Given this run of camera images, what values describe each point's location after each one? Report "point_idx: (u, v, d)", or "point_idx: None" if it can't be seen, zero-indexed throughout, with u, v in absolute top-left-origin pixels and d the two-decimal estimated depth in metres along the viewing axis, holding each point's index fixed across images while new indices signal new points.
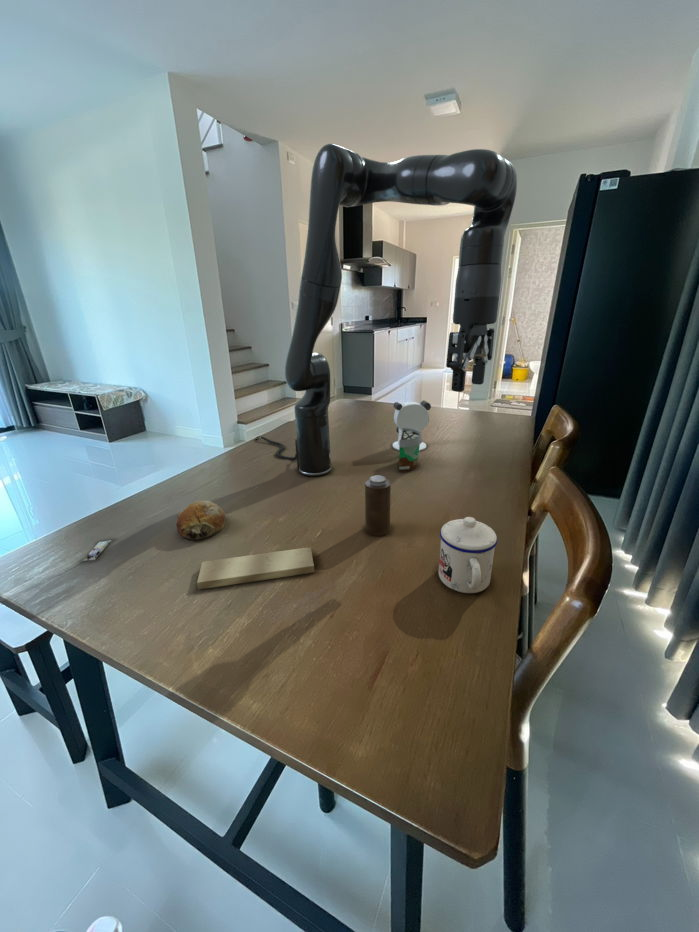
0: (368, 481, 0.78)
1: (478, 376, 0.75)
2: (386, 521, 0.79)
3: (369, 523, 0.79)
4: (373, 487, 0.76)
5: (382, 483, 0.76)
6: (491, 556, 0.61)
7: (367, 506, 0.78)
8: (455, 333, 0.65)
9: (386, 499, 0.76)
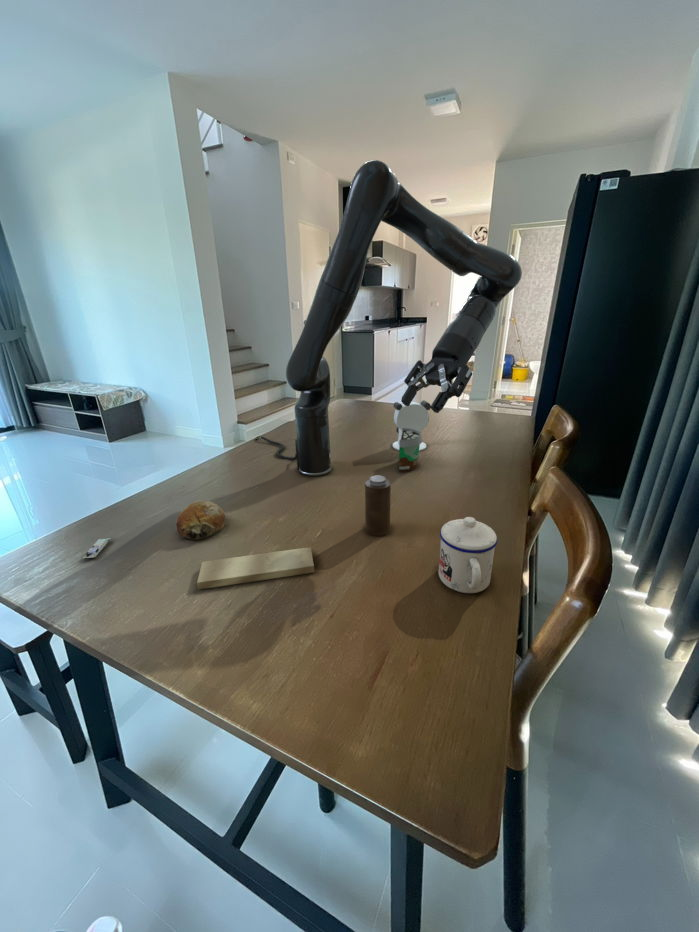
0: (368, 481, 0.78)
1: (409, 398, 0.82)
2: (386, 521, 0.79)
3: (369, 523, 0.79)
4: (373, 487, 0.76)
5: (382, 483, 0.76)
6: (491, 556, 0.61)
7: (367, 506, 0.78)
8: (469, 368, 0.74)
9: (386, 499, 0.76)
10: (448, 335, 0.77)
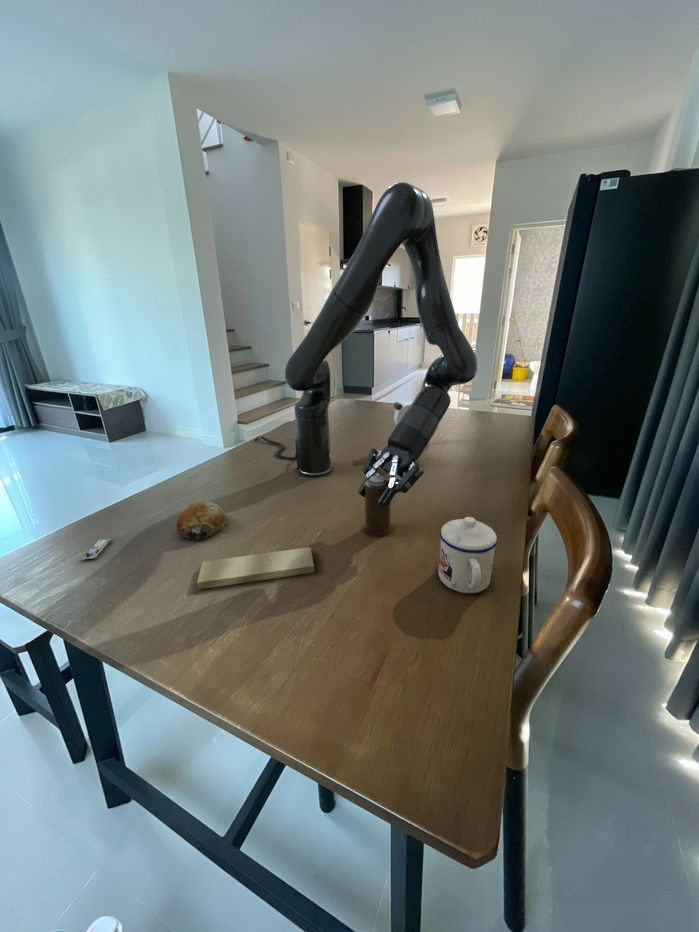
0: (368, 481, 0.78)
1: None
2: (386, 521, 0.79)
3: (369, 523, 0.79)
4: (373, 487, 0.76)
5: (382, 483, 0.76)
6: (491, 556, 0.61)
7: (367, 506, 0.78)
8: (420, 468, 0.74)
9: None
10: (402, 426, 0.77)
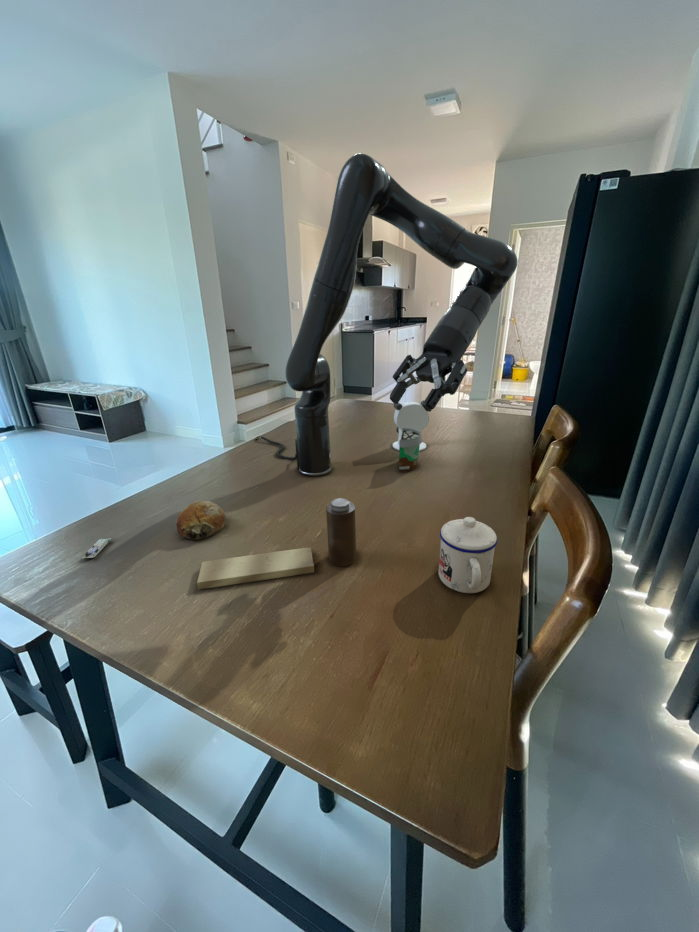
0: (330, 505, 0.69)
1: (398, 395, 0.75)
2: (351, 550, 0.70)
3: (332, 553, 0.70)
4: (334, 513, 0.66)
5: (344, 508, 0.67)
6: (491, 556, 0.61)
7: (329, 533, 0.69)
8: (464, 364, 0.69)
9: (349, 526, 0.67)
10: (441, 327, 0.72)
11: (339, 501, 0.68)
